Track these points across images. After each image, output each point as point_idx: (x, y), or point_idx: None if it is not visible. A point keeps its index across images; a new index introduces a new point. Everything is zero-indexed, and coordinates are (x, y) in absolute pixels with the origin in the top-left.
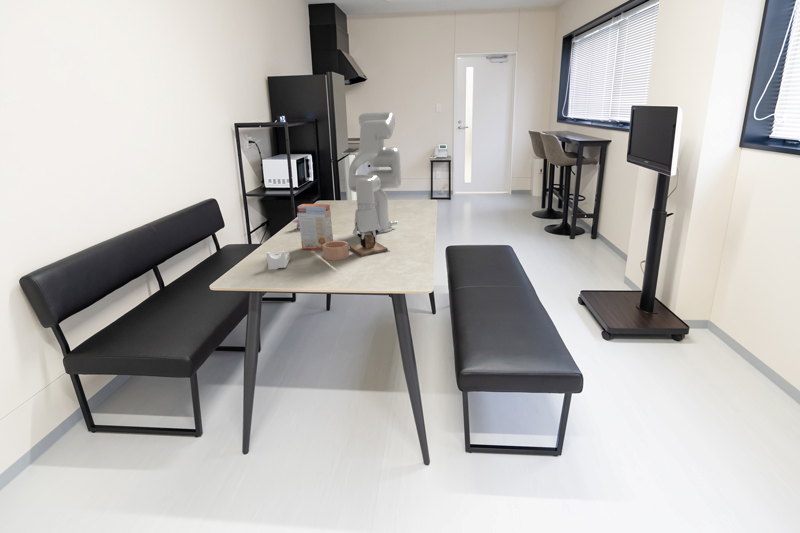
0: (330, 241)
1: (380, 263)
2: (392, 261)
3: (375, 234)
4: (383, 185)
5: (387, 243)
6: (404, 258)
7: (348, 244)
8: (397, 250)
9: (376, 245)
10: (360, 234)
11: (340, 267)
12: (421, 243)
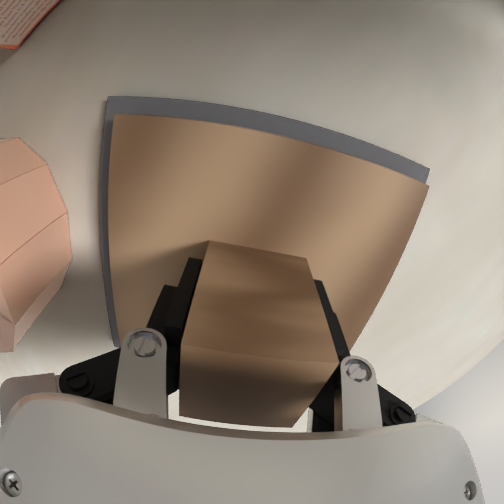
0: (3, 4)
1: (179, 420)
2: None
3: (331, 426)
4: None
5: (475, 211)
6: (295, 431)
7: (20, 321)
8: (380, 361)
9: (337, 298)
10: (131, 386)
11: (26, 347)
12: (496, 331)
